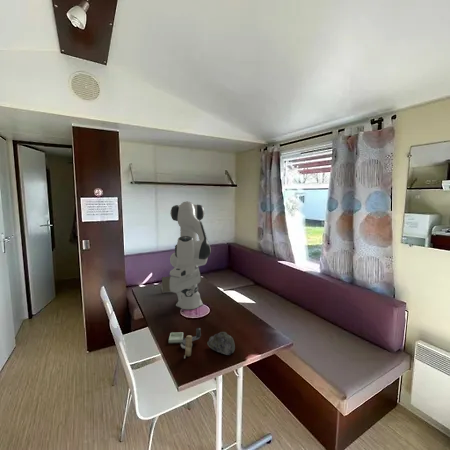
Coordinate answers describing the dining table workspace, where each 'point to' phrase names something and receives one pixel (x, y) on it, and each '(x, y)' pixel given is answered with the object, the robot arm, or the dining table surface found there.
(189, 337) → the stop pin
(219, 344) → the mineral rock
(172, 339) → the dish
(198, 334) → the crank
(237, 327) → the dining table surface
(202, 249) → the robot arm
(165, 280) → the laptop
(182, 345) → the crank base
